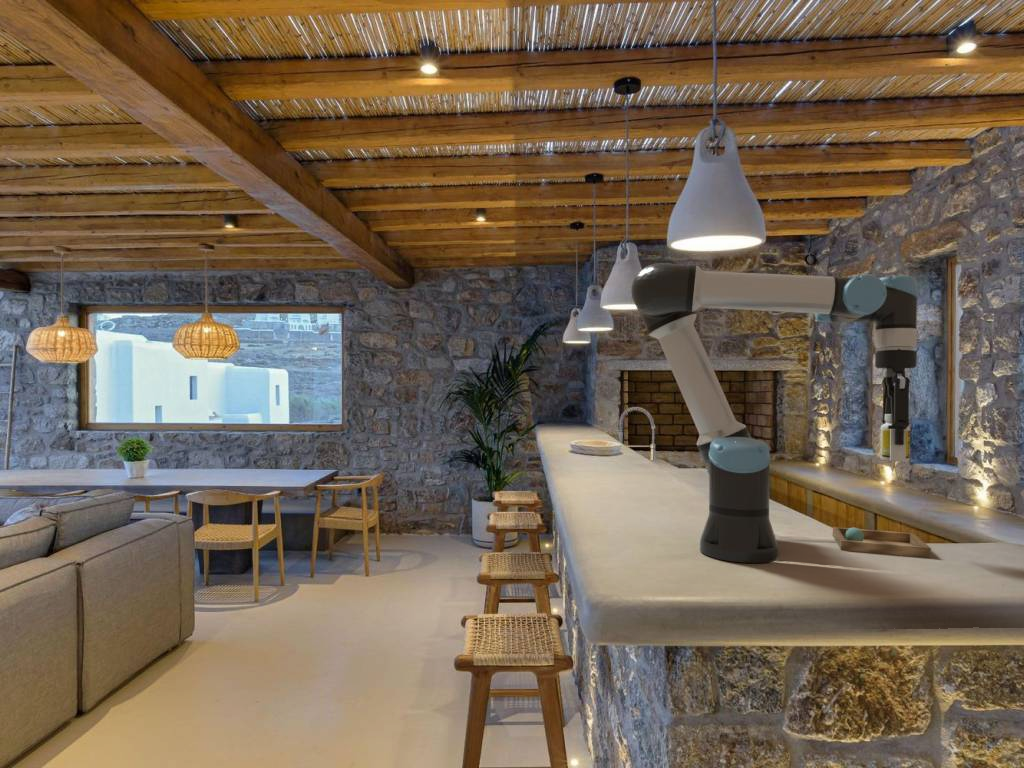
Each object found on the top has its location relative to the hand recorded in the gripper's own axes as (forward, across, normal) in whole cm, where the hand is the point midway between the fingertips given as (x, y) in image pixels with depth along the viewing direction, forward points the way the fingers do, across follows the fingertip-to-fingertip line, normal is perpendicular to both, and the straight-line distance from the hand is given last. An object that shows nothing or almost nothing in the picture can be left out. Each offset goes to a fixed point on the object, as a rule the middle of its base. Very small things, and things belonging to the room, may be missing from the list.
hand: (894, 458), depth 135 cm
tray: (+19, 0, +3) cm, 20 cm away
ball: (+19, 0, +7) cm, 20 cm away
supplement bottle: (+1, 0, 0) cm, 1 cm away
